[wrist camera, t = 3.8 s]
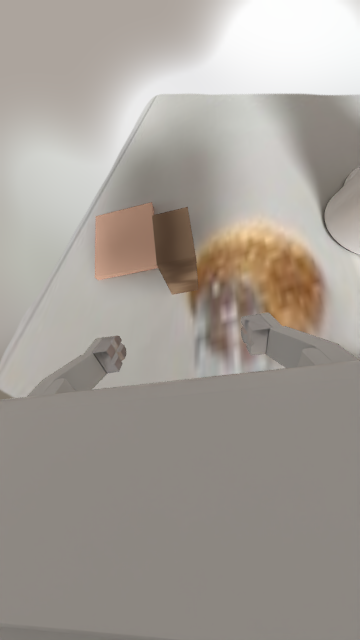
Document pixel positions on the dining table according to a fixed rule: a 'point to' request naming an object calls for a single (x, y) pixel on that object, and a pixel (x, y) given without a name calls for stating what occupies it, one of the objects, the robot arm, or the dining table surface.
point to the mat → (125, 242)
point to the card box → (175, 250)
